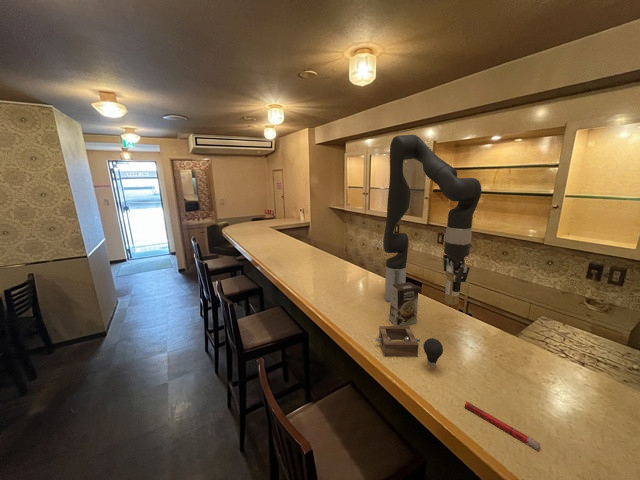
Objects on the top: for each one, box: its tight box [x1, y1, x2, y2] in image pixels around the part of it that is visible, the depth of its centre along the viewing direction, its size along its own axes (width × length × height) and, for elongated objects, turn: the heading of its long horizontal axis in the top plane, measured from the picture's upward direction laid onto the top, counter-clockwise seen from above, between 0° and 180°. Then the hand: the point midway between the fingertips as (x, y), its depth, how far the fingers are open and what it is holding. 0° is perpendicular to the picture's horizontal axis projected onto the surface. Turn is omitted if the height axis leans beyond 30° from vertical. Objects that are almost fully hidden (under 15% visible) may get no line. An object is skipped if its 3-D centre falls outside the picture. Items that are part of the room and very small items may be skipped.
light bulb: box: [423, 337, 444, 369], centre depth 80 cm, size 6×6×10 cm
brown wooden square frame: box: [378, 325, 419, 358], centre depth 92 cm, size 11×11×5 cm
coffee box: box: [388, 281, 420, 326], centre depth 105 cm, size 9×6×16 cm
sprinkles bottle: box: [443, 265, 460, 306], centre depth 88 cm, size 5×5×13 cm
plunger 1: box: [375, 337, 392, 343], centre depth 92 cm, size 2×5×2 cm, turn 87°
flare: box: [464, 401, 541, 452], centre depth 62 cm, size 2×15×2 cm, turn 42°
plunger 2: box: [403, 336, 421, 343], centre depth 91 cm, size 2×5×2 cm, turn 87°
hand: (452, 288), depth 89 cm, fingers closed on sprinkles bottle, 4 cm apart
